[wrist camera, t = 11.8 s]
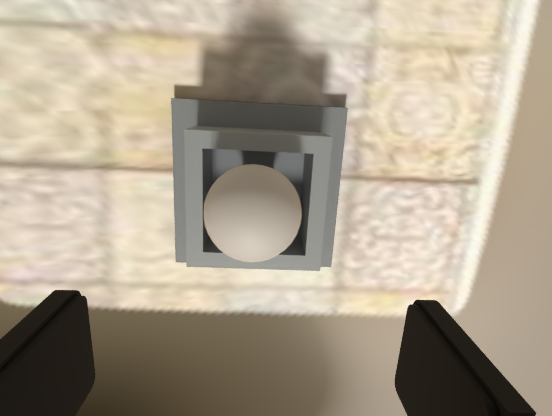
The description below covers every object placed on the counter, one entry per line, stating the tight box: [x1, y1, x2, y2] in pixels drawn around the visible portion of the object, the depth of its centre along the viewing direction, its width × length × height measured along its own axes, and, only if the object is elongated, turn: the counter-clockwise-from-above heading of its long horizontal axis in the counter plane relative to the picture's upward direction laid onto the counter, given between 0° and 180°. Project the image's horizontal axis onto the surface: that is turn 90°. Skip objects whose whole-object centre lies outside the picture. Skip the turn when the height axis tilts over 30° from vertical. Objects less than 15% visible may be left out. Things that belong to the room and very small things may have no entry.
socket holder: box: [171, 98, 348, 271], centre depth 28 cm, size 14×14×6 cm
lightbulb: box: [203, 164, 302, 262], centre depth 25 cm, size 6×6×11 cm
